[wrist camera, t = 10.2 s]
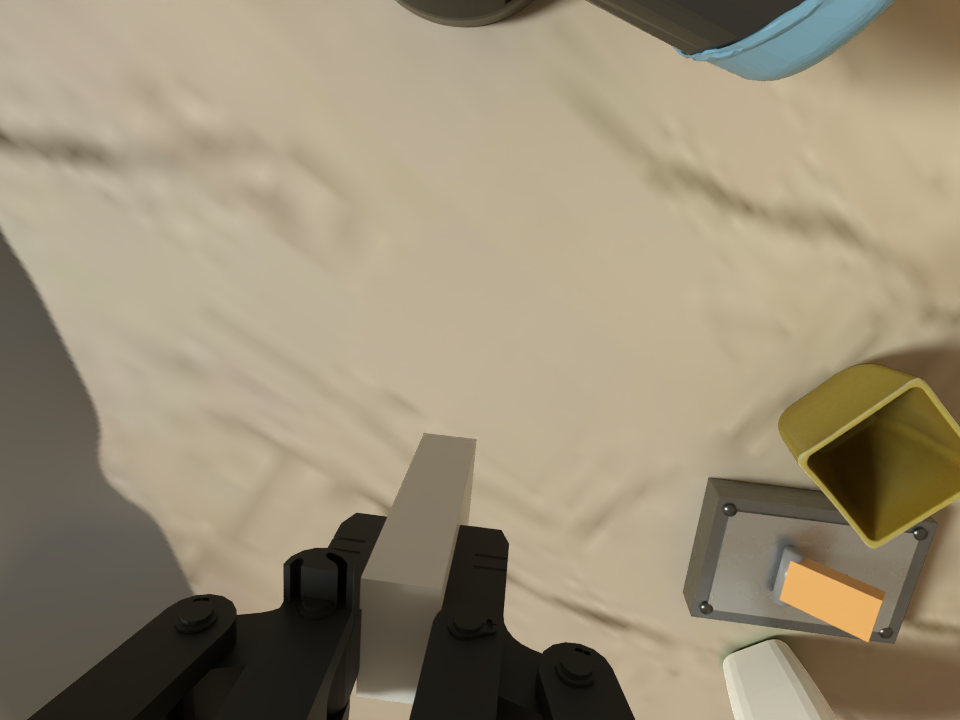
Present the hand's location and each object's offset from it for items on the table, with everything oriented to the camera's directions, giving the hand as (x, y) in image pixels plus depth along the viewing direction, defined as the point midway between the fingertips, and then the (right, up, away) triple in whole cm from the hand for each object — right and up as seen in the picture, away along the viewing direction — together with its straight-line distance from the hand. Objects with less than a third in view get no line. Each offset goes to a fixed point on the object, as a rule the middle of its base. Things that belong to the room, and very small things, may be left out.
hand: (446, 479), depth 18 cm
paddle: (+24, -13, +29) cm, 40 cm away
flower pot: (+28, -1, +30) cm, 41 cm away
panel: (+27, -12, +33) cm, 44 cm away
